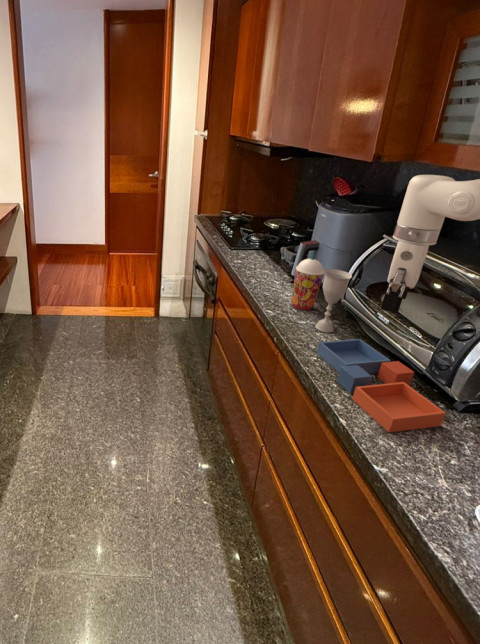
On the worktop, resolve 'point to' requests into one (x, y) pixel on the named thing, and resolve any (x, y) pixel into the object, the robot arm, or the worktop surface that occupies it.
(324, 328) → the chalice
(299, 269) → the smoothie
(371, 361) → the blue bin
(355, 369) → the blue cubic block piece
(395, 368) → the terracotta block
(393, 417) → the terracotta bin
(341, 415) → the worktop surface
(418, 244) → the robot arm
